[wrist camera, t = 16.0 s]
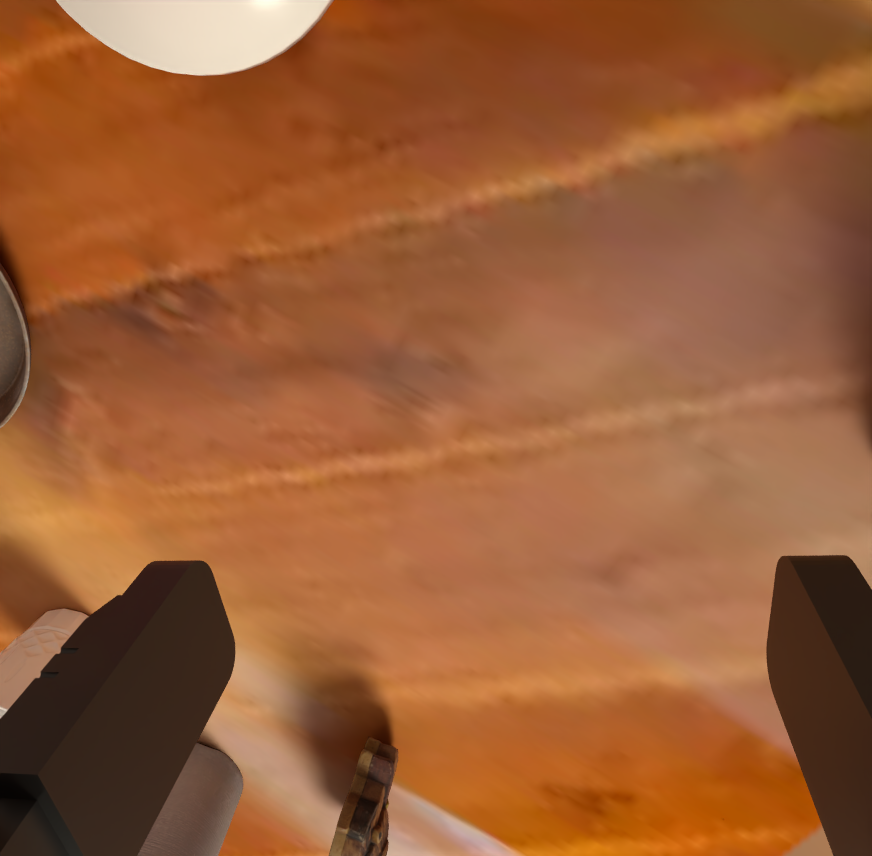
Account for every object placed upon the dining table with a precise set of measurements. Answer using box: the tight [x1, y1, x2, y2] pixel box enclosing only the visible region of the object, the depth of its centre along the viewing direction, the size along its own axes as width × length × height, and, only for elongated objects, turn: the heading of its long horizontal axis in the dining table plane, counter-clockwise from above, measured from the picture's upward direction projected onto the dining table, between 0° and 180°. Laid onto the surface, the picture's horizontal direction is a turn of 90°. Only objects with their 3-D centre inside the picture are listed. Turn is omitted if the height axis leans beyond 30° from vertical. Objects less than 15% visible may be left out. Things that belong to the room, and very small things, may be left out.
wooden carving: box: [329, 737, 398, 856], centre depth 55 cm, size 16×5×10 cm, turn 173°
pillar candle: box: [137, 743, 243, 856], centre depth 55 cm, size 10×10×15 cm
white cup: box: [0, 609, 89, 719], centre depth 51 cm, size 8×8×10 cm
